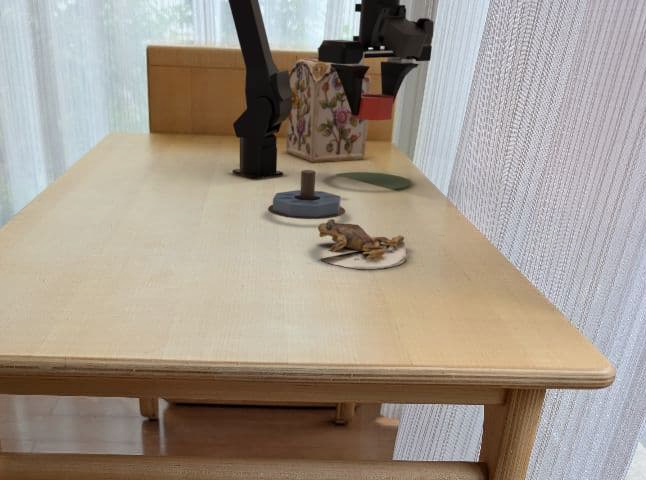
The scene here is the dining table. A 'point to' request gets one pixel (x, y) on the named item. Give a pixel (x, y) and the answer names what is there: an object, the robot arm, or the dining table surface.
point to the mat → (379, 179)
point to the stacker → (307, 195)
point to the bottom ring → (306, 204)
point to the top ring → (375, 107)
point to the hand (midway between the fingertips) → (370, 114)
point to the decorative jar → (323, 115)
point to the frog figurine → (362, 247)
